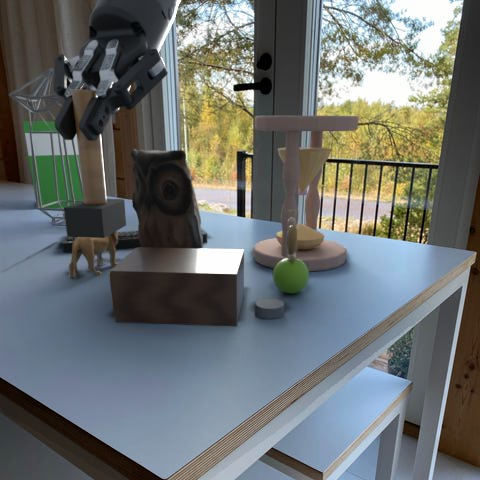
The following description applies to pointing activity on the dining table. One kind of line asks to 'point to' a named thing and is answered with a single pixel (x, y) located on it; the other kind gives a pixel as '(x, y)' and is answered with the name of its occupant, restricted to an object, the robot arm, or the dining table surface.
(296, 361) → the dining table surface
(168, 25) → the robot arm
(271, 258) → the hourglass
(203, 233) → the keyboard
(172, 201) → the owl
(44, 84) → the geometric lantern
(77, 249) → the lion figurine
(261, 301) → the grey short cylinder
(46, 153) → the hardback book
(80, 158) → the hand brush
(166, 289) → the brown wooden block
